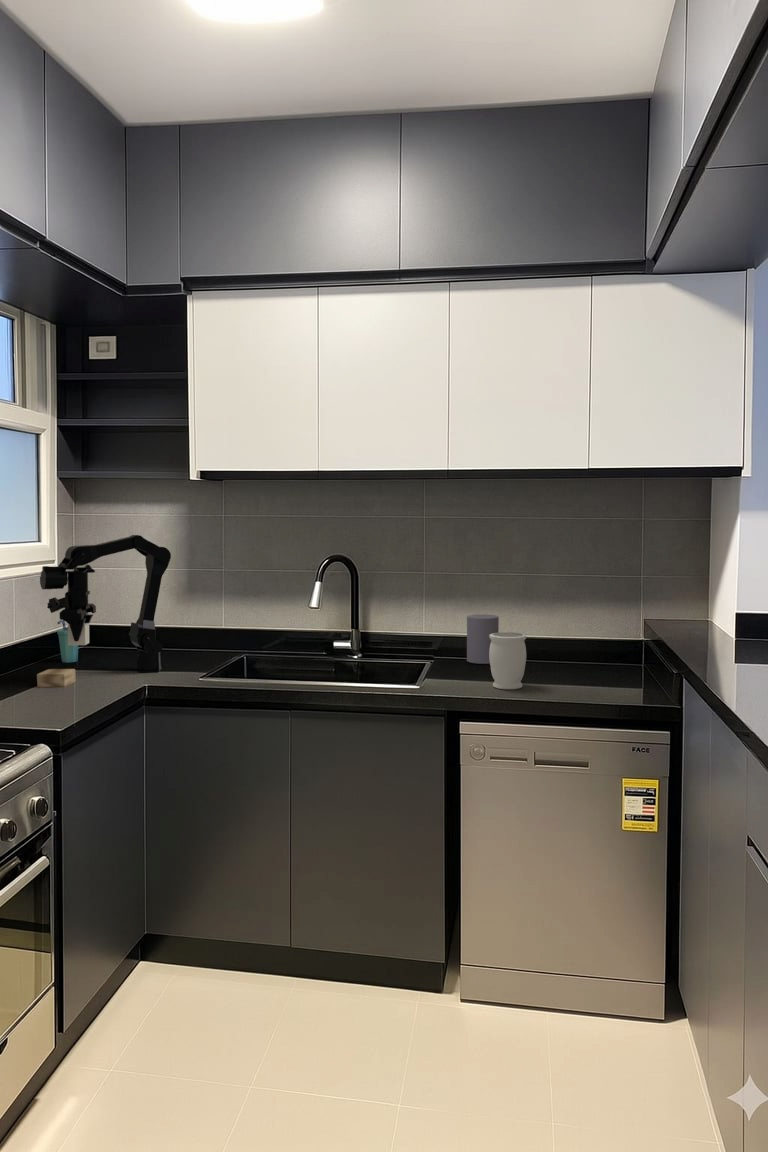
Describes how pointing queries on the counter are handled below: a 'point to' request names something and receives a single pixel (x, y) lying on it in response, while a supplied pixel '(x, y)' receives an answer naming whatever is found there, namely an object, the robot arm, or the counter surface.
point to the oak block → (56, 678)
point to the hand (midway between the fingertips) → (78, 639)
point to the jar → (507, 659)
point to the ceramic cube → (83, 637)
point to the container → (480, 637)
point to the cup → (66, 645)
